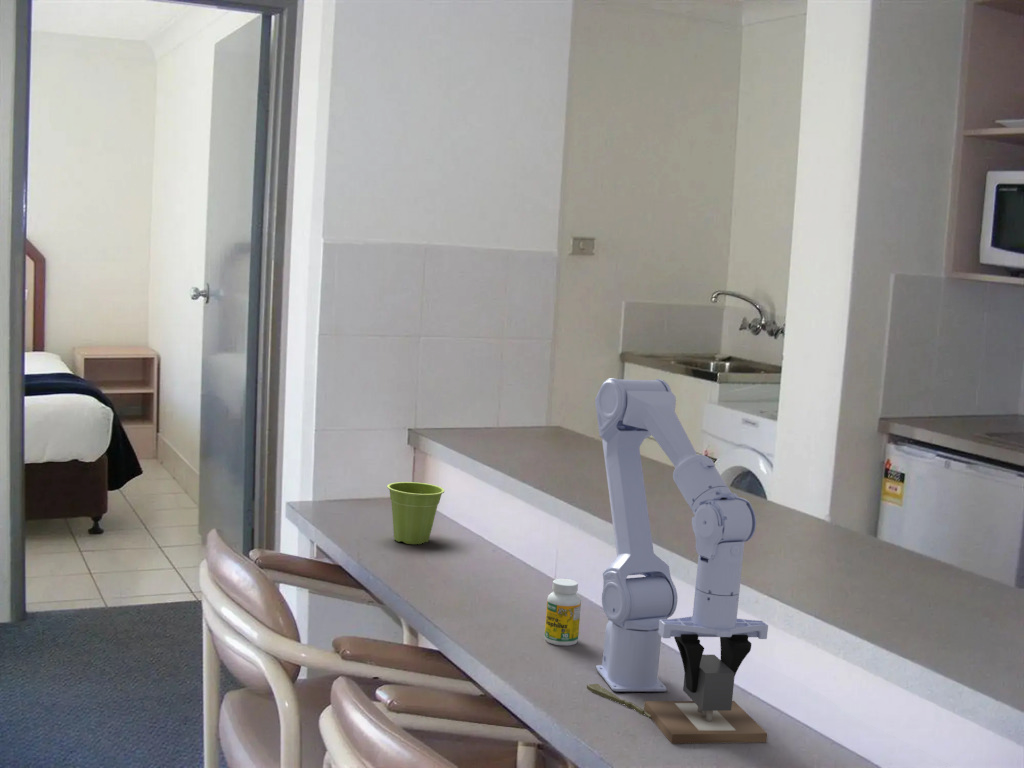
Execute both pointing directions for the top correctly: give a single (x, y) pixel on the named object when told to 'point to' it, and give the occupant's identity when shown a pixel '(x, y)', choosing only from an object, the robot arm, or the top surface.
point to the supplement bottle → (563, 613)
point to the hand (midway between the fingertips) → (707, 689)
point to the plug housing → (713, 685)
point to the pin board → (704, 723)
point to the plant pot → (413, 510)
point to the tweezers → (614, 697)
